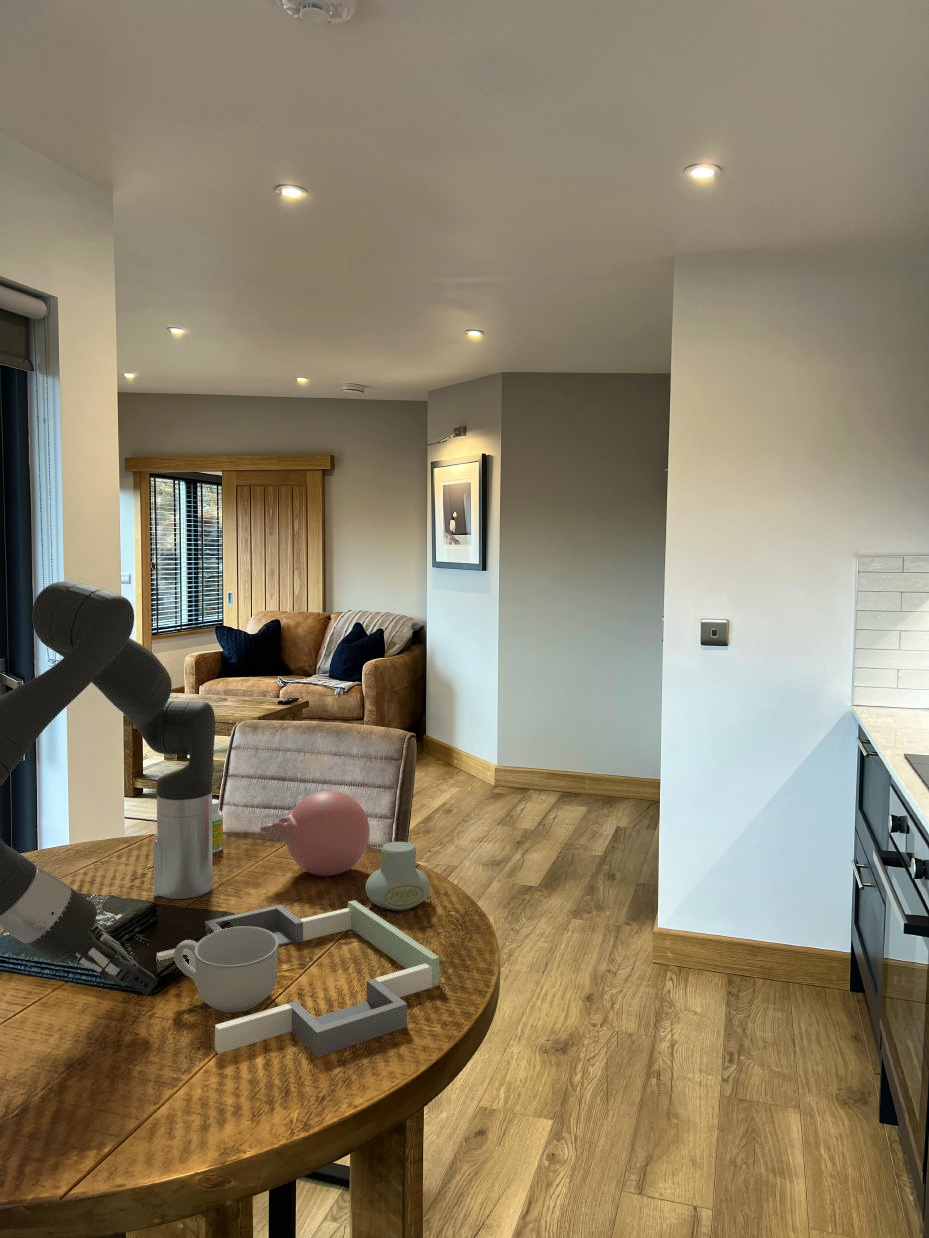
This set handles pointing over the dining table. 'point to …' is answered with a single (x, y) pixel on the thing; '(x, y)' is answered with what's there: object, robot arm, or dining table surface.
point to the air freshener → (398, 879)
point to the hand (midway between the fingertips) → (151, 986)
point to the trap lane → (346, 1024)
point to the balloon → (324, 832)
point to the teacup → (232, 967)
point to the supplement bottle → (217, 827)
